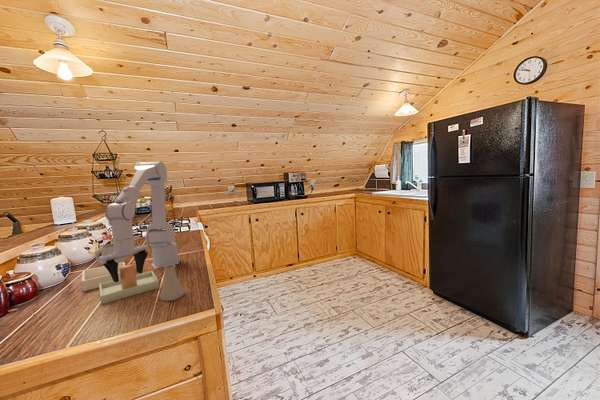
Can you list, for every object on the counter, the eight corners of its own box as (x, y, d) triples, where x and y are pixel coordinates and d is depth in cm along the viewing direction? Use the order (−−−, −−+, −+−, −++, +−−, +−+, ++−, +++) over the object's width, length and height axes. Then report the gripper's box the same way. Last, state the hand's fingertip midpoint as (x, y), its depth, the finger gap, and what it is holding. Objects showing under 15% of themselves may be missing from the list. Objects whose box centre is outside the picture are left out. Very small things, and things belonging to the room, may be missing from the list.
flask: (190, 292, 85) (187, 263, 83) (172, 303, 78) (169, 271, 77) (172, 289, 87) (169, 261, 86) (154, 300, 80) (151, 269, 79)
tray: (152, 277, 98) (152, 270, 98) (159, 287, 89) (158, 280, 89) (100, 290, 88) (99, 283, 88) (101, 304, 79) (100, 296, 79)
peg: (132, 282, 91) (129, 263, 91) (139, 284, 89) (137, 265, 89) (119, 288, 88) (116, 268, 87) (126, 290, 86) (123, 270, 85)
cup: (119, 266, 111) (117, 246, 110) (92, 270, 108) (89, 249, 107) (125, 261, 118) (123, 242, 117) (100, 264, 115) (97, 244, 114)
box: (125, 271, 105) (124, 261, 105) (128, 281, 95) (127, 270, 95) (84, 280, 97) (82, 270, 97) (83, 292, 87) (81, 281, 87)
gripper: (138, 232, 95) (143, 267, 96) (92, 242, 82) (97, 283, 84) (150, 233, 91) (154, 270, 93) (103, 245, 79) (109, 287, 80)
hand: (128, 276), depth 88 cm, fingers open, 7 cm apart
